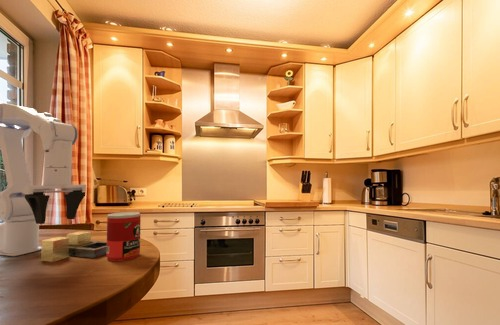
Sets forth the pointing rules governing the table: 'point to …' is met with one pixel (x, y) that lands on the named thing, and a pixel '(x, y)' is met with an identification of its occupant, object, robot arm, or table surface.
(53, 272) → the table surface
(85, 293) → the table surface
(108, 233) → the canned food
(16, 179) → the robot arm
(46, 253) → the honey wood cube
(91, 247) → the grey open box
